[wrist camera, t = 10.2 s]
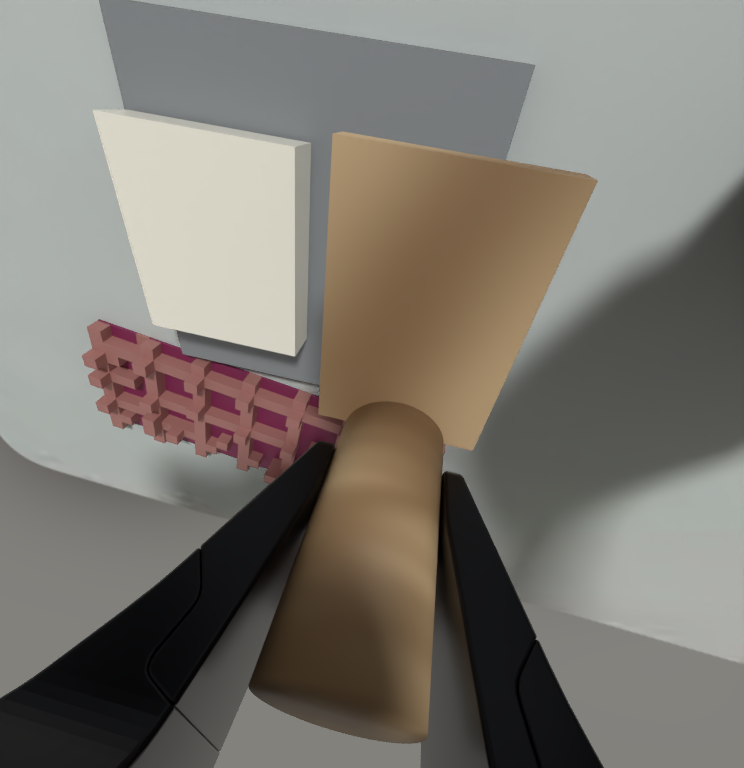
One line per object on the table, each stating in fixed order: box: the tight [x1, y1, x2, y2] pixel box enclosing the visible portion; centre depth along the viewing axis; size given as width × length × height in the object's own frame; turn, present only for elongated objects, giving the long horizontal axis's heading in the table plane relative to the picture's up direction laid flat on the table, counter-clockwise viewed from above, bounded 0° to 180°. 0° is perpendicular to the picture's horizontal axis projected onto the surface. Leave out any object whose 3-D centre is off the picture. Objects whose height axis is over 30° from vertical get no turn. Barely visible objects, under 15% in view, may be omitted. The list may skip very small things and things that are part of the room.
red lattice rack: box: [82, 320, 445, 483], centre depth 20 cm, size 7×19×2 cm, turn 74°
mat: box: [99, 0, 535, 385], centre depth 14 cm, size 12×12×1 cm
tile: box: [93, 110, 311, 357], centre depth 13 cm, size 2×7×6 cm
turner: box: [249, 131, 597, 743], centre depth 6 cm, size 4×8×6 cm, turn 172°
